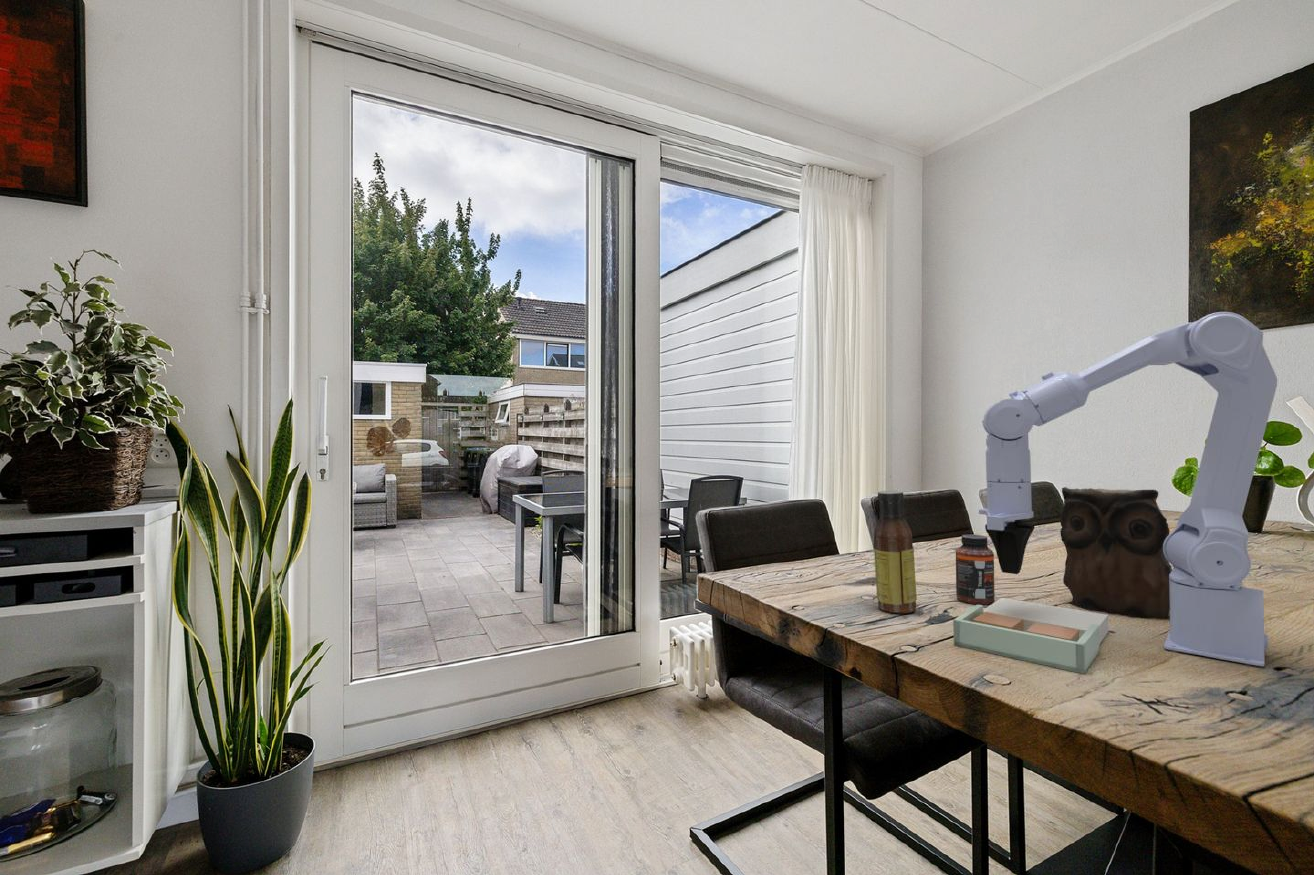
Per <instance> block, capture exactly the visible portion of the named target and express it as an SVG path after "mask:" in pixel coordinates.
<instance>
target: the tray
mask: <svg viewBox="0 0 1314 875" xmlns="http://www.w3.org/2000/svg"><path fill="white" fill-rule="evenodd" d="M983 610H984V604H975V605H974V606H973V607H971V608H969V609H968V610H966V611H965V612H963V613H962V614H960V615H959V616H957V617H956V618H954V619H953V620H952V621H953V624H952V625H953V645H954V646H956V647H957V646H958V647H961V648H965V649H970V650H975V651H979V652H984V653H989V654H994V655H999V656H1002V657H1007V658H1010V659H1016V660H1020V661H1025V662H1029V663H1033V664H1037V665H1043V666H1048V667H1052V668H1055V669H1056V668H1057V669H1061V670H1065V671H1071V672H1075V673H1078V674H1082V675H1084V674H1085V673H1086V672H1087V670H1088V669H1089V667H1090V666H1091V664H1092V663H1093V662H1094V660H1095V659H1096V657H1097V655H1099V653H1100V644H1099V625H1094V624H1091V626H1090V627H1089V628H1088V629H1087V630H1086V632H1085V633H1084V634H1083V635H1082V636H1081V638H1080V639H1079V640H1078V641H1077V642H1075V641H1070V640H1064V639H1059V638H1054V637H1049V636H1044V635H1038V634H1033V633H1028V632H1023V631H1018V630H1012V629H1007V628H1002V627H997V626H991V625H986V624H981V623H976V622H973V619H974V618H976V617H978V616H979V615H981V614H983Z"/></svg>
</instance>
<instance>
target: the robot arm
mask: <svg viewBox="0 0 1314 875" xmlns="http://www.w3.org/2000/svg"><path fill="white" fill-rule="evenodd" d="M1263 341H1264V332H1263V331H1262V330H1261V329H1260V328H1258V327H1257V326H1256V325H1255V324H1253V323H1252V322H1251V321H1249V320H1248V319H1247V318H1246V317H1244V316H1242V315H1240V314H1238V313H1235V312H1231V311H1217V312H1213V313H1210V314H1207V315H1205V316H1203V317H1201V318H1199V319H1198V320H1196V321H1193V322H1191V321H1190V322H1187V323H1184V324H1180V325H1178V326H1175V327H1172V328H1169V329H1167V330H1164V331H1161V332H1158V333H1155V334H1153V335H1150V336H1147V337H1145V338H1143V339H1141V340H1139V341H1137V342H1135V343H1133V344H1130V345H1129V346H1127V347H1126V348H1122V350H1120V351H1118V352H1116V353H1114V354H1112V355H1110V356H1108V357H1107V358H1104V359H1102V360H1101V361H1098V362H1096V363H1094V364H1093V365H1091V366H1088V367H1087V368H1085V369H1083V370H1082V371H1081V370H1080V372H1076V373H1074V372H1070V371H1065V370H1060V371H1058V372H1056V373H1054V372H1053V371H1050V372H1048V373H1045V374H1044V375H1042V376H1041V379H1042V380H1040V381H1038V382H1036V383H1034V384H1032V385H1030V386H1029V387H1026V388H1025V389H1022V390H1020V391H1017V390H1013V391H1011V392H1009V394H1008V396H1009V397H1010V398H1003V399H1001V400H1000V401H999V402H996V403H994V404H992V405H990V406H989V407H988V408H987V410H986V411H985V413H984V416H983V420H982V421H981V422H982V427H983V428H984V430H985V432H986V433H987V434H986V441H985V445H986V447H987V448H986V450H985V475H986V476H985V477H986V507H987V508H980V509H978V514H979V515H985V516H986V524H985V525H984V526H985V528H984V529H985V532H986V534H987V535H988V536H989V538H990V539H991V542H992V544H993V546H994V549H995V552H996V556H997V559H998V560H997V561H998V563H999V567H1000V570H1001V573H1005V574H1011V575H1012V574H1013V575H1018V574H1019V573H1021V571H1022V570H1021V569H1022V567H1023V562H1024V557H1025V552H1026V547H1027V545H1028V542H1029V540H1030V537H1031V535H1032V534H1033V532H1034V530H1035V524H1033V523H1026V522H1025V523H1022V521H1023V520H1029V519H1032V518H1034V511H1033V504H1032V476H1031V475H1032V472H1031V469H1032V467H1031V466H1032V464H1031V450H1030V448H1029V433H1030V432H1031V430H1032V429H1033V426H1036V427H1041V426H1044V425H1045V424H1047V423H1050V422H1052V421H1054V420H1056V419H1058V418H1060V417H1062V416H1065V415H1066V414H1069V413H1072V411H1075V410H1077V409H1079V408H1082V407H1083V406H1085V405H1086V402H1087V400H1088V398H1089V395H1090V393H1091V392H1093V391H1094V390H1097V389H1099V388H1102V387H1103V386H1106V385H1108V384H1110V383H1113V382H1116V381H1117V380H1120V379H1122V378H1124V377H1125V376H1129V375H1130V374H1133V373H1135V372H1137V371H1139V370H1142V369H1143V368H1146V367H1148V366H1168V365H1171V364H1172V365H1173V364H1175V365H1177V366H1179V367H1181V368H1183V369H1185V370H1188V372H1189V371H1190V372H1192V373H1194V374H1196V375H1198V376H1200V377H1201V378H1202V379H1203V380H1204V381H1205V382H1206V383H1207V384H1209V386H1211V387H1212V388H1213V389H1214V390H1215V391H1216V392H1217V397H1216V398H1217V399H1216V402H1215V404H1214V405H1215V406H1214V409H1213V414H1212V417H1211V421H1210V424H1209V429H1208V432H1207V437H1206V440H1205V444H1204V447H1203V452H1202V455H1201V460H1200V464H1199V467H1198V470H1197V474H1196V479H1195V483H1194V487H1193V490H1192V494H1191V497H1190V498H1191V499H1190V502H1189V505H1188V506H1187V508H1185V510H1184V511H1183V512H1182V514H1180V515H1179V517H1178V521H1177V523H1176V527H1175V528H1174V529H1173V530H1172V531H1171V532H1169V535H1168V536H1167V537H1166V539H1165V541H1164V544H1163V553H1164V556H1165V558H1166V559H1167V561H1168V562H1169V564H1170V565H1171V566H1173V567H1172V572H1171V573H1170V574H1169V593H1170V612H1169V617H1170V618H1169V624H1170V625H1169V629H1170V630H1169V632H1168V634H1167V636H1166V639H1165V641H1164V643H1163V648H1164V649H1166V650H1169V651H1175V652H1181V653H1185V654H1191V655H1198V656H1203V657H1207V658H1213V659H1219V660H1223V661H1229V662H1230V661H1231V662H1235V663H1239V664H1240V663H1241V664H1246V665H1252V666H1256V667H1265V666H1266V665H1265V662H1266V661H1265V650H1269V634H1265V612H1264V611H1265V608H1264V607H1265V606H1264V604H1265V602H1264V590H1262V589H1257V588H1251V587H1247V586H1243V581H1244V580H1245V579H1246V578H1247V577H1248V575H1249V573H1250V571H1251V568H1252V560H1251V557H1250V554H1249V552H1248V546H1247V545H1248V540H1249V538H1250V537H1249V531H1248V529H1247V527H1246V524H1245V521H1244V519H1243V514H1244V511H1245V507H1246V503H1247V500H1248V499H1247V498H1248V495H1249V491H1250V487H1251V484H1252V482H1253V481H1252V480H1253V477H1254V473H1255V470H1256V466H1257V461H1258V457H1259V454H1260V450H1261V447H1262V443H1263V439H1264V437H1265V436H1264V435H1265V432H1266V428H1267V424H1268V421H1269V417H1270V414H1271V409H1272V405H1273V402H1274V397H1275V395H1276V394H1275V393H1276V391H1277V387H1278V377H1277V375H1276V373H1275V370H1274V368H1273V365H1272V363H1271V361H1270V359H1269V356H1268V354H1267V351H1266V350H1265V347H1264V344H1263V343H1264V342H1263Z"/></svg>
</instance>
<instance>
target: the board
mask: <svg viewBox="0 0 1314 875" xmlns="http://www.w3.org/2000/svg"><path fill="white" fill-rule="evenodd" d="M984 612H989V613H994V614H999V615H1005V616H1010V617H1015V618H1021V619H1024V632H1026V630H1027V629H1029V628H1030V627H1031V626H1032V625H1033V624H1034V623H1035V622H1039V623H1044V624H1050V625H1055V626H1061V627H1067V628H1072V629H1078V630H1079V639H1080V638H1081V636H1082V635H1083V634H1084V633H1085V632H1086V630H1087V629H1088V628H1089V627H1090V626H1091V624H1094V625H1099V645H1100V644H1101V643H1102V641H1103V640H1104V639H1105V637H1106V636H1107V634H1109V614H1105V613H1099V612H1094V611H1088V610H1080V609H1074V608H1067V607H1061V606H1057V605H1056V606H1055V605H1048V604H1043V603H1035V602H1030V601H1029V602H1028V601H1023V600H1017V599H1012V598H1005V597H1000V598H999V599H998V600H996V601H994V602H992V603H991V604H989V606H987V607H986V608H983V613H984Z"/></svg>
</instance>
